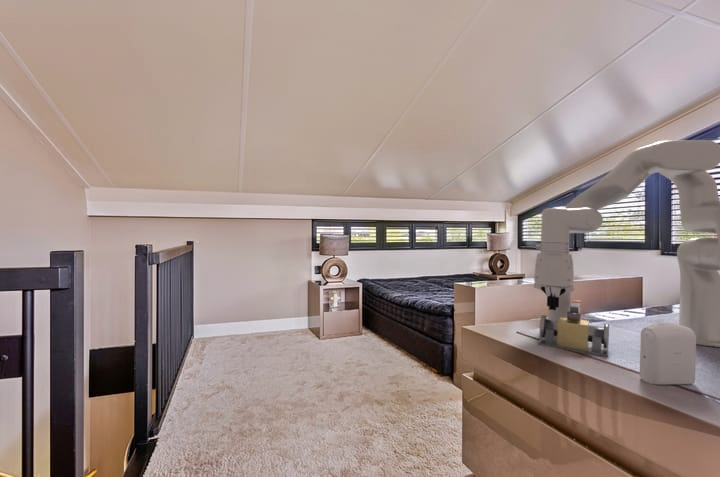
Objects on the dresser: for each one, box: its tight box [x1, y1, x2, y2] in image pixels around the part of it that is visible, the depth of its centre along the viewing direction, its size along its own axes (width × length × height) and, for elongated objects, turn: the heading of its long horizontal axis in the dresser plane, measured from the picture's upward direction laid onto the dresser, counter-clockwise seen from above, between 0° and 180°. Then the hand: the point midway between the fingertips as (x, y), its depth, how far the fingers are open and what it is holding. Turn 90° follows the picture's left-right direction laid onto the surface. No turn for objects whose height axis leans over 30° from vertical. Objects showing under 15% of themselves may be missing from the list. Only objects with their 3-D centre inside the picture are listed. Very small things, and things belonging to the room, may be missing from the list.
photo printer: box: [639, 322, 697, 385], centre depth 73 cm, size 10×4×12 cm, turn 96°
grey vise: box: [537, 314, 610, 358], centre depth 97 cm, size 16×10×7 cm, turn 55°
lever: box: [567, 299, 582, 321], centre depth 102 cm, size 16×3×4 cm, turn 145°
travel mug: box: [547, 287, 572, 321], centre depth 113 cm, size 6×7×20 cm
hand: (552, 309), depth 105 cm, fingers closed
